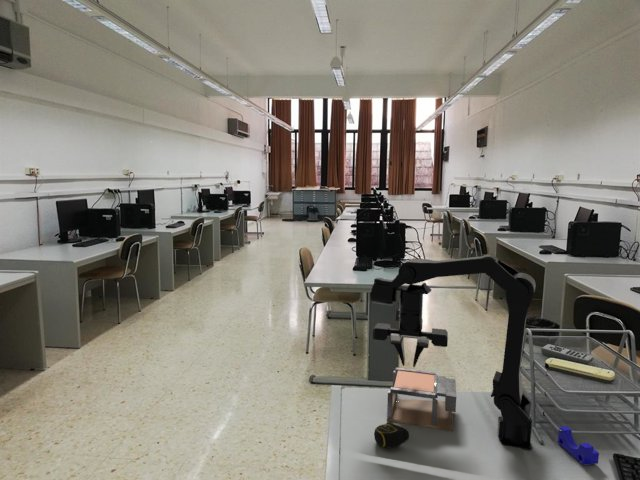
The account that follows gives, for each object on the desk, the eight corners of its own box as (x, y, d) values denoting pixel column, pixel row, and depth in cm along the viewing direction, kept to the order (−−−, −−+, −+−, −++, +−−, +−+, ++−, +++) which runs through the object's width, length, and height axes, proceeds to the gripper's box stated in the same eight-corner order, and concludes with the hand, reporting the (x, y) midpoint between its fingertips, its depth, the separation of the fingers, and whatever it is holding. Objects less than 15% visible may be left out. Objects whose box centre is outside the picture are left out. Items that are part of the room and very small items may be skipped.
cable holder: (597, 463, 93) (599, 446, 93) (583, 464, 93) (585, 447, 92) (571, 441, 101) (572, 425, 100) (557, 442, 100) (559, 427, 100)
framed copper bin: (451, 403, 117) (453, 374, 116) (452, 431, 104) (454, 398, 103) (393, 395, 122) (393, 366, 121) (386, 420, 109) (387, 388, 108)
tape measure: (412, 443, 97) (409, 427, 97) (388, 454, 94) (385, 437, 94) (393, 434, 103) (390, 419, 103) (370, 444, 100) (367, 428, 100)
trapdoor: (454, 393, 115) (455, 377, 114) (455, 412, 106) (456, 394, 105) (397, 385, 119) (397, 369, 119) (393, 403, 110) (393, 386, 109)
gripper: (448, 302, 116) (445, 358, 118) (379, 297, 121) (377, 350, 123) (448, 314, 105) (445, 375, 107) (373, 308, 110) (371, 366, 112)
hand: (408, 365), depth 112 cm, fingers closed
